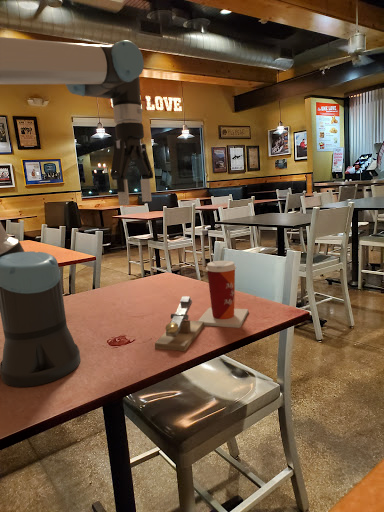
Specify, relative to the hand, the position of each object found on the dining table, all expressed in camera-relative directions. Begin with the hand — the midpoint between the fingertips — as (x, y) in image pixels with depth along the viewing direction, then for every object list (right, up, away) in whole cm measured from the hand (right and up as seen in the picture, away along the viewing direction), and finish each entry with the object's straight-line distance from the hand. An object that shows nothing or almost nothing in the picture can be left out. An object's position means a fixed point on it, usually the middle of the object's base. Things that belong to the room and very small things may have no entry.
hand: (136, 203), depth 102 cm
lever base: (+13, -34, -17) cm, 40 cm away
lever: (+13, -29, -18) cm, 36 cm away
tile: (+24, -31, -7) cm, 40 cm away
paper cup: (+24, -31, -7) cm, 39 cm away
